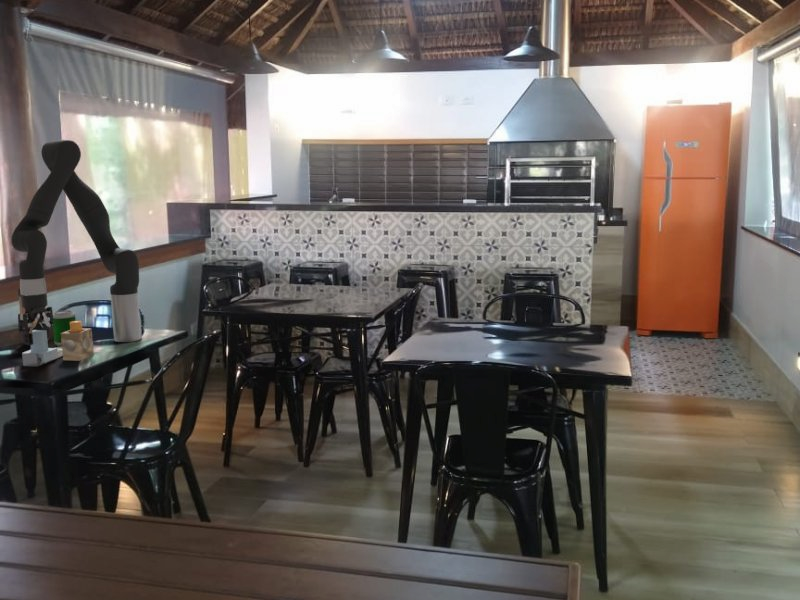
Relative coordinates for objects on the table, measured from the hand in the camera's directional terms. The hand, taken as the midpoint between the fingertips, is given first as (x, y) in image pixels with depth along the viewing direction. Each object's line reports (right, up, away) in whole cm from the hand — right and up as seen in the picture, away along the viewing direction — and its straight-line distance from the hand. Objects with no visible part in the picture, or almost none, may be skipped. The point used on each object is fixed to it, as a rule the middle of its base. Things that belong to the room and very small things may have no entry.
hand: (38, 341), depth 244 cm
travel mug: (-14, -2, +28) cm, 31 cm away
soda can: (-2, -3, +25) cm, 25 cm away
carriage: (0, -7, +1) cm, 7 cm away
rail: (+1, -6, +7) cm, 9 cm away
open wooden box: (+10, -6, +7) cm, 13 cm away
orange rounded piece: (+10, +1, +5) cm, 12 cm away
